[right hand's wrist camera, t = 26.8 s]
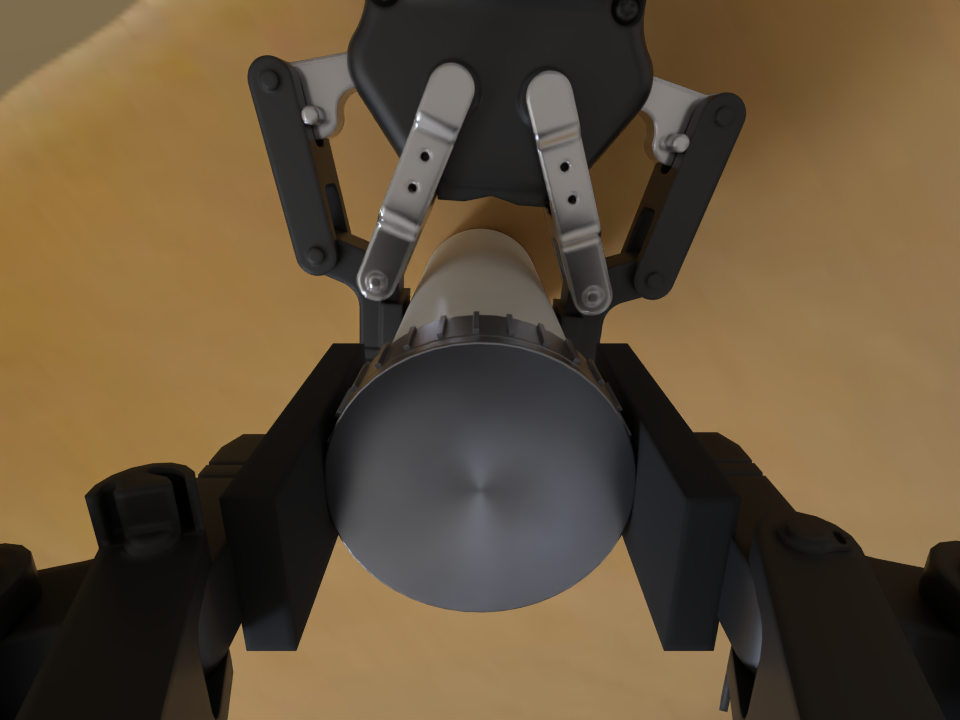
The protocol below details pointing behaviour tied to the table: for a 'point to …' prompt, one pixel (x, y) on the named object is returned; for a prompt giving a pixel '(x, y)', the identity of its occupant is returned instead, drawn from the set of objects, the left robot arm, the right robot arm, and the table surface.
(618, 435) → the lid
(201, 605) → the right robot arm
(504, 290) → the bottle
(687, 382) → the table surface
